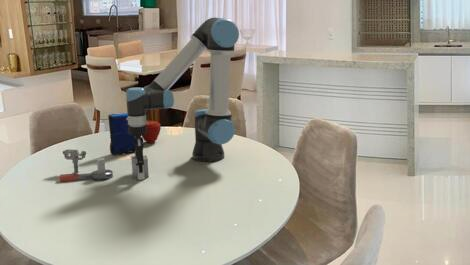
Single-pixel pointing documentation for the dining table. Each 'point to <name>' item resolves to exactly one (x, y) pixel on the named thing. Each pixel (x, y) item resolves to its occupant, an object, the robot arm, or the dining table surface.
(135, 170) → the gray rectangular block
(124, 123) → the blue box
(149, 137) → the apple
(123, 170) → the dining table surface
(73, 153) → the mechanical component
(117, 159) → the dining table surface
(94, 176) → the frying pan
